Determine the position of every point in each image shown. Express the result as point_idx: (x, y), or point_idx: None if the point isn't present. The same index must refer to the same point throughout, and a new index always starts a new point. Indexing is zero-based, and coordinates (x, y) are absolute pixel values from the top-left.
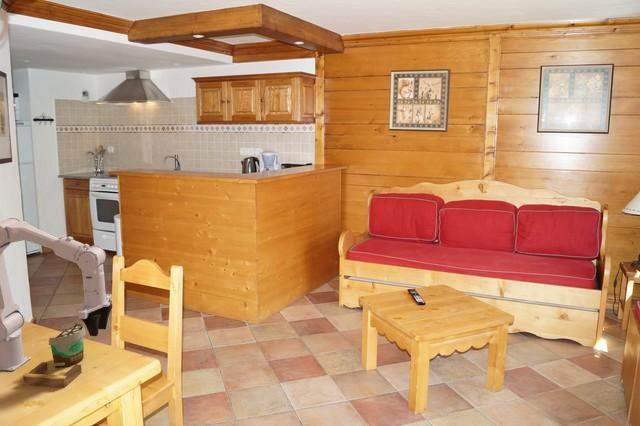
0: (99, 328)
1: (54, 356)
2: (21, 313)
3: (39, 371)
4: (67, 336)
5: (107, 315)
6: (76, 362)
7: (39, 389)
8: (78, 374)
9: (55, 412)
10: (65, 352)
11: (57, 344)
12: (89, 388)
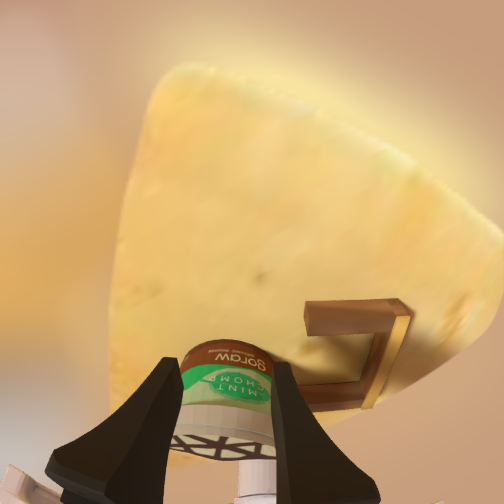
0: (182, 387)
1: None
2: None
3: (330, 395)
4: (274, 445)
5: (131, 428)
6: (247, 346)
7: None
8: (326, 303)
9: (497, 248)
10: None
11: None
12: (410, 220)
